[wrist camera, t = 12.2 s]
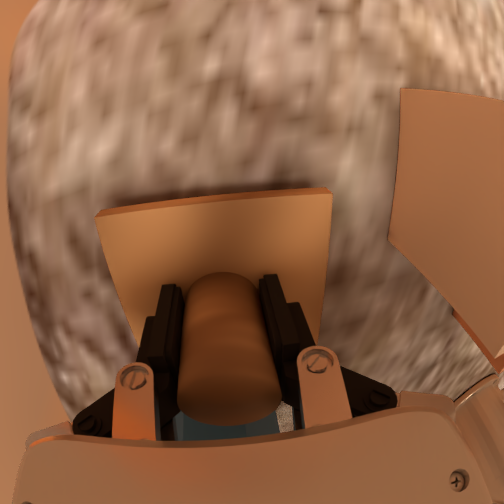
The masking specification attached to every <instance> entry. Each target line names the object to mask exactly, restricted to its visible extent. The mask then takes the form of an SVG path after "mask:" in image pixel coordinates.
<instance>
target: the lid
mask: <svg viewBox="0 0 504 504" xmlns="http://www.w3.org/2000/svg"><path fill="white" fill-rule="evenodd" d="M332 197H333V193H331V192H330V191H329V190H328V189H327V188H326V187H321V188H301V189H284V190H269V191H256V192H243V193H232V194H221V195H211V196H201V197H192V198H183V199H175V200H167V201H159V202H151V203H144V204H137V205H130V206H123V207H117V208H110V209H104V210H101V211H100V212H99V213H98V214H97V215H96V216H95V217H94V219H95V223H96V227H97V230H98V234H99V238H100V241H101V244H102V248H103V251H104V255H105V258H106V261H107V264H108V267H109V270H110V273H111V276H112V279H113V282H114V285H115V288H116V291H117V294H118V296H119V299H120V302H121V305H122V307H123V310H124V312H125V315H126V318H127V320H128V323H129V325H130V328H131V330H132V332H133V335H134V337H135V339H136V342H137V344H138V346H140V342H141V337H142V333H143V329H144V324H145V320H146V317H147V316H155V313H156V308H157V304H158V299H159V295H160V291H161V286H162V285H164V284H176V287H181V290H182V295H183V299H184V303H185V306H184V315H183V326H182V336H181V348H180V361H179V374H178V390H177V404H178V407H179V408H180V410H181V411H182V412H183V413H184V414H185V415H187V416H188V417H190V418H192V419H194V420H196V421H198V422H202V423H205V424H210V425H217V426H235V425H243V424H247V423H251V422H255V421H258V420H260V419H262V418H264V417H266V416H268V415H269V414H271V413H272V412H273V411H275V410H276V409H277V408H278V406H279V405H280V403H281V400H282V393H281V389H280V384H279V380H278V376H277V371H276V368H275V364H274V359H273V355H272V350H271V346H270V341H269V337H268V333H267V328H266V324H265V319H264V315H263V310H262V306H261V301H260V297H259V279H262V278H263V275H267V274H277V275H278V278H279V281H280V284H281V287H282V290H283V293H284V296H285V299H286V302H287V303H292V302H299V303H300V305H301V308H302V310H303V313H304V315H305V318H306V321H307V323H308V326H309V328H310V331H311V334H312V336H313V339H314V342H315V344H316V346H317V343H318V336H319V329H320V322H321V315H322V307H323V299H324V291H325V282H326V273H327V263H328V252H329V240H330V228H331V213H332Z"/></svg>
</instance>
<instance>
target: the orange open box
mask: <svg viewBox="0 0 504 504" xmlns="http://www.w3.org/2000/svg"><path fill="white" fill-rule="evenodd" d="M452 315H453V316H454V317H455V318H456V320H457V321H458V322H459V323H460V324H461V326H462V327H463V328H464V329H465V330H466V332H467V333H468V334H469V335H470V337H471V338H472V339H473V341H474V342H475V343H476V344H477V346H478V347H479V348H480V350H481V351H482V352H483V354H484V355H485V356H486V358H487V359H488V360H489V362H490V363H491V364H492V366H493V367H494V369H495V370H496V371H497V373H498V374H500V373H501V372H503V371H504V353H503V354H502V355H500V356H498V357H497V358H495V359H494V357H493V356H492V355H491V353H490V352H489V351H488V349H487V348H486V347H485V346H484V344H483V343H482V342H481V340H480V339H479V338H478V337H477V335H476V334H475V333H474V332H473V331H472V329H471V328H470V327H469V326H468V324H467V323H466V322H465V321H464V320H463V319H462V317H461V316H460V315H459V314H458V313H457V312H456V310H455V309H454V311H453V313H452Z"/></svg>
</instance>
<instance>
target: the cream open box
mask: <svg viewBox="0 0 504 504" xmlns="http://www.w3.org/2000/svg"><path fill="white" fill-rule="evenodd" d="M388 240H389V241H390V242H391V243H392V244H393V245H394V246H395V247H396V248H397V249H398V250H399V251H400V252H401V253H402V254H403V255H404V256H405V257H406V258H407V259H408V260H409V261H410V262H411V263H412V264H413V265H414V266H415V267H416V268H417V269H418V270H419V271H420V272H421V273H422V274H423V275H424V276H425V277H426V278H427V280H428V281H429V282H430V283H431V284H432V285H433V286H434V287H435V288H436V289H437V290H438V291H439V292H440V294H441V295H442V296H443V297H444V298H445V299H446V300H447V301H448V302H449V304H450V305H451V306H452V307H453V308H454V309H455V310H456V312H457V313H458V314H459V315H460V316H461V317H462V319H463V320H464V321H465V322H466V323H467V324H468V326H469V327H470V328H471V329H472V331H473V332H474V333H475V334H476V335H477V337H478V338H479V339H480V340H481V342H482V343H483V344H484V346H485V347H486V348H487V349H488V351H489V352H490V353H491V355H492V356H493V357H494V359H495V358H497V357H498V356H500V355H502V354H503V353H504V101H503V100H498V99H493V98H487V97H482V96H476V95H469V94H462V93H455V92H446V91H436V90H424V89H407V88H400V133H399V150H398V162H397V173H396V183H395V192H394V200H393V207H392V214H391V221H390V227H389V233H388Z"/></svg>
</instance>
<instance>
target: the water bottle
mask: <svg viewBox="0 0 504 504" xmlns="http://www.w3.org/2000/svg"><path fill="white" fill-rule="evenodd" d="M175 418H176V427H177V435H178V441H201V440H220V439H233V438H244V437H253V436H262V435H269V434H276V433H280V431H279V426H278V421H277V416H276V411H273V412H272V413H271V414H269V415H268V416H266V417H264V418H262V419H260V420H258V421H255V422H251V423H247V424H243V425H235V426H217V425H210V424H205V423H202V422H198V421H196V420H194V419H192V418H190V417H188V416H187V415H185V414H184V413H183V412H182V411H181V410H180V412H179V413H178V414H177V415H176V416H175Z"/></svg>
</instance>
